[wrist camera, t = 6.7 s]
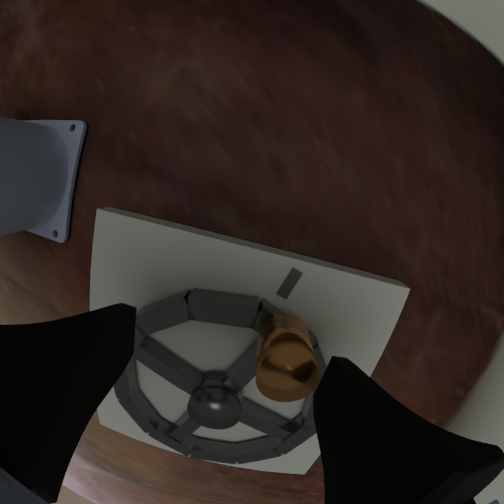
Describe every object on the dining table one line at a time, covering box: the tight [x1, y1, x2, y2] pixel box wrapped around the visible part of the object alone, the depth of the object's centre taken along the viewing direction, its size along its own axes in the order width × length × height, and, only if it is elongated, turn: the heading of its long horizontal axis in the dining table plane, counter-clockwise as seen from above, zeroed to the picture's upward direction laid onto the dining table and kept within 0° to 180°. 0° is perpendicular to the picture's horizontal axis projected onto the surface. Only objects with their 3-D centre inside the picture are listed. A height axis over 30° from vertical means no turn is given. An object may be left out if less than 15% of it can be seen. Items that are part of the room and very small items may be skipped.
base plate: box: [90, 207, 410, 474], centre depth 16 cm, size 18×18×2 cm
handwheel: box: [114, 288, 327, 464], centre depth 13 cm, size 14×13×5 cm
